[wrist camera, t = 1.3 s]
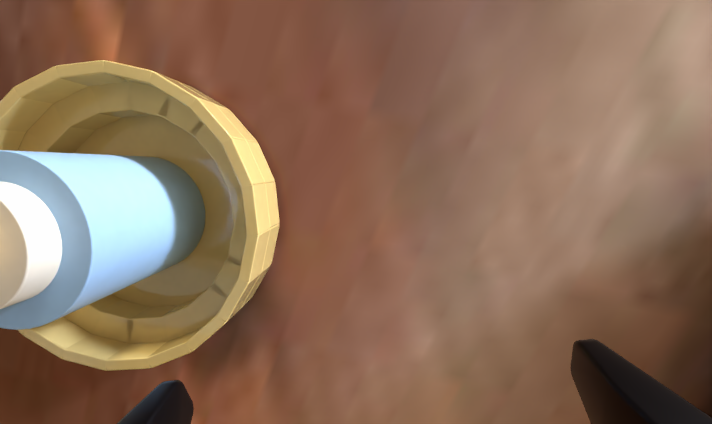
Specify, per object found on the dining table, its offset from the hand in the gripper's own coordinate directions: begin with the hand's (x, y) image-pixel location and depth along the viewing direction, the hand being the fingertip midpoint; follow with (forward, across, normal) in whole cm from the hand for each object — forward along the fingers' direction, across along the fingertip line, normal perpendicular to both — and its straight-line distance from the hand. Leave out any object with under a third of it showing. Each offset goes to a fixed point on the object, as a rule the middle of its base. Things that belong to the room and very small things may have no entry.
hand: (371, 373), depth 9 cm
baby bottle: (+14, +13, +1) cm, 19 cm away
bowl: (+15, +13, +2) cm, 20 cm away
